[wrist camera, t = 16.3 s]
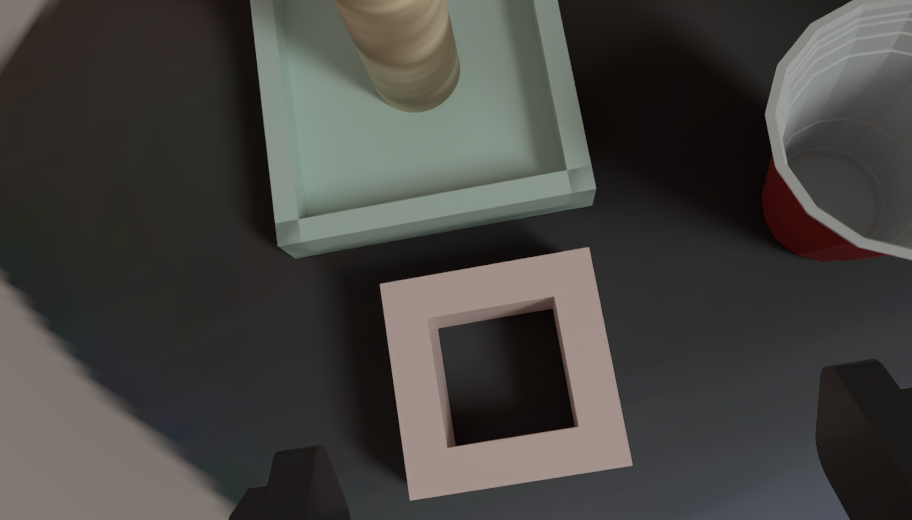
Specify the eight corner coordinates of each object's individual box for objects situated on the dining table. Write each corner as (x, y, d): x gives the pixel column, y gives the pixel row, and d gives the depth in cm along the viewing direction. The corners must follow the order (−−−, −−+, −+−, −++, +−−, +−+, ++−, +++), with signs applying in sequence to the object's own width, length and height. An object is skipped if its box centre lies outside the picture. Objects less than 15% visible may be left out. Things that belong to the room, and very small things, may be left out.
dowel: (452, 21, 44) (420, -126, 32) (467, 102, 43) (440, -19, 31) (366, 39, 44) (304, -100, 32) (379, 120, 43) (320, 6, 31)
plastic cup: (760, 71, 42) (843, -64, 31) (961, 158, 40) (1133, 50, 29) (669, 249, 41) (721, 178, 29) (874, 348, 39) (1017, 315, 27)
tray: (531, -94, 46) (530, -129, 43) (592, 205, 42) (596, 188, 39) (260, -39, 47) (242, -69, 44) (295, 258, 43) (277, 246, 40)
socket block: (584, 264, 41) (588, 247, 37) (623, 461, 39) (632, 465, 35) (394, 297, 42) (379, 283, 38) (422, 493, 40) (410, 500, 36)
